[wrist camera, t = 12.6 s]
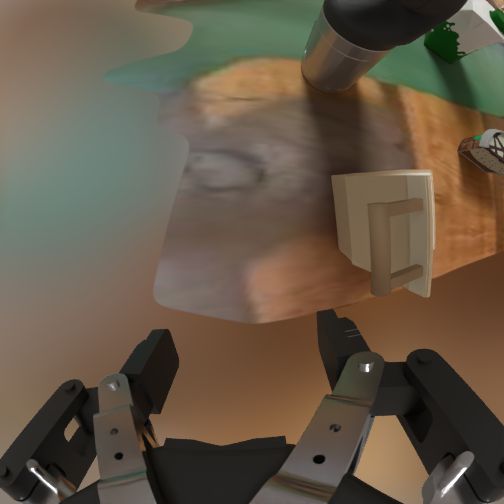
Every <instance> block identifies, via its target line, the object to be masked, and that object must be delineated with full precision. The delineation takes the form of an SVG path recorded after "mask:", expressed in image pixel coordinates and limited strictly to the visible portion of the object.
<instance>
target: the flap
mask: <svg viewBox="0 0 504 504" xmlns="http://www.w3.org/2000/svg"><path fill="white" fill-rule="evenodd" d="M345 185H346V194H347V203H348V213H349V224H350V237H351V252H352V264H353V265H355V266H357V267H360V268H362V269H364V270H366V271H369V272H371V293H372V294H373V295H375V296H386V295H388V294H390V292H391V290H392V289H394V288H397V287H399V286H402V287H405V288H407V289H409V290H410V291H412V292H414V293H416V294H419V295H421V296H423V297H429V296H430V289H431V276H432V259H433V208H432V190H431V178H430V175H377V176H348V177H345Z"/></svg>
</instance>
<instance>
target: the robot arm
mask: <svg viewBox="0 0 504 504" xmlns="http://www.w3.org/2000/svg"><path fill="white" fill-rule="evenodd" d="M467 1H468V0H325V1H324V4H323V6H322V9H321V11H320V14H319V17H318V19H317V20H316V21H315V23H314V26H313V28H312V31H311V34H310V36H309V39H308V42H307V44H306V47H305V49H306V50H305V53H304V56H303V58H302V62H301V68H302V73H303V75H304V77H305V78H306V80H307V81H308V82H309V83H310V84H311V85H312V86H314V87H315V88H317V89H318V90H321V91H323V92H327V93H341V92H344V91H346V90H348V89H349V88H350V87H351V86H352V85H354V84H355V83H356V82H357V81H358V80H359V79H360V78H361V77H362V76H363V75H364V74H366V73H367V72H368V71H369V70H370V69H371V68H372V67H373V66H374V65H375V64H377V63H378V62H379V61H380V60H381V59H382V58H383V57H384V56H386V55H387V54H388V53H389V52H390V51H391V50H392V49H393V48H394V47H396V46H400V45H406V44H409V43H411V42H413V41H414V40H416V39H417V38H419V37H420V36H422V35H424V34H425V33H427V32H428V31H430V30H432V29H433V28H435V27H437V26H438V25H440V24H442V23H443V22H445V21H446V20H448V19H450V18H451V17H452V16H453V15H455V14H456V13H457V12H458V11H459V10H460V9H461V8H462V7H463V6H464V5H465V4H466V2H467ZM317 331H318V345H319V351H320V355H321V358H322V361H323V364H324V367H325V370H326V374H327V377H328V380H329V383H330V387H331V390H332V395H325V397H324V398H323V400H322V402H321V403H320V405H319V407H318V409H317V411H316V412H315V415H314V416H313V418H312V420H311V421H310V423H309V425H308V427H307V428H306V430H305V431H304V433H303V435H302V436H301V438H300V440H299V442H298V443H297V444H296V445H294V444H286V438H285V436H279V437H269V438H256V439H251V440H247V441H243V442H239V443H234V444H230V445H225V446H219V445H214V444H209V443H205V442H201V441H197V440H190V439H189V440H188V439H172V438H166V440H165V443H164V446H159V443H158V440H157V438H156V435H155V432H154V429H153V426H152V423H151V421H150V419H149V415H150V414H160V413H161V411H162V408H163V405H164V403H165V400H166V398H167V395H168V393H169V390H170V388H171V385H172V382H173V380H174V377H175V375H176V372H177V370H178V367H179V357H178V354H177V351H176V348H175V345H174V342H173V339H172V336H171V333H170V331H169V330H168V329H156V330H152V331H151V333H150V334H149V336H148V337H147V339H146V340H143V341H142V342H141V343H140V344H138V345H137V346H136V348H135V349H134V351H133V353H132V354H131V355H130V357H129V359H128V360H127V361H126V363H125V364H124V366H123V367H122V369H121V370H120V372H119V373H115V374H111V375H108V376H106V377H104V378H103V379H102V380H101V381H100V383H99V384H98V387H94V388H87V389H86V388H85V386H84V385H83V383H82V382H81V381H80V380H76V379H74V380H69V381H67V382H65V383H63V384H62V385H61V386H60V387H59V388H58V389H57V390H56V392H55V393H54V394H53V395H52V396H51V397H50V399H49V400H48V401H47V402H46V403H45V404H44V406H43V407H42V408H41V409H40V410H39V411H38V413H37V414H36V415H35V416H34V418H33V419H32V420H31V421H30V422H29V424H28V425H27V426H26V427H25V428H24V430H23V431H22V432H21V433H20V435H19V436H18V437H17V438H16V440H15V441H14V442H13V443H12V445H11V446H10V447H9V449H8V450H7V451H6V453H5V454H4V455H3V456H2V458H1V459H0V488H1V489H2V490H3V491H5V492H6V493H7V494H8V495H9V496H10V497H11V498H12V499H13V500H14V501H16V502H17V503H18V504H403V503H401V502H399V501H397V500H395V499H393V498H392V497H390V496H388V495H386V494H384V493H382V492H380V491H379V490H377V489H375V488H373V487H372V486H370V485H368V484H367V483H365V482H363V481H361V480H360V479H358V478H357V477H355V476H354V473H355V471H356V469H357V466H358V464H359V461H360V458H361V455H362V452H363V449H364V447H365V444H366V441H367V438H368V435H369V433H370V430H371V427H372V424H373V421H374V418H375V416H385V415H386V416H388V415H396V416H397V418H398V420H399V421H400V423H401V425H402V427H403V428H404V430H405V432H406V434H407V436H408V437H409V439H410V441H411V443H412V445H413V446H414V448H415V450H416V452H417V454H418V456H419V458H420V459H421V461H422V463H423V465H424V466H425V469H426V471H427V473H428V474H429V477H428V478H427V480H426V481H425V482H424V484H423V487H422V497H423V504H495V503H496V502H498V501H499V500H500V499H501V498H502V497H504V426H503V425H502V423H501V422H500V421H499V420H498V419H497V417H496V416H495V415H494V414H493V413H492V412H491V411H490V409H489V408H488V407H487V406H486V405H485V403H484V402H483V401H482V400H481V399H480V398H479V397H478V396H477V395H476V394H475V392H474V391H473V390H472V389H471V388H470V387H469V386H468V384H467V383H466V382H465V381H464V380H463V379H462V378H461V377H460V376H459V375H458V374H457V373H456V372H455V370H454V369H453V368H452V367H451V366H450V365H449V364H448V363H447V362H446V361H445V360H444V359H443V358H442V357H441V356H440V355H439V354H438V353H437V352H435V351H433V350H430V349H418V350H415V351H413V352H411V353H410V354H409V355H408V356H407V360H406V362H385V361H384V359H383V357H382V356H381V355H379V354H377V353H374V352H371V351H370V349H369V347H368V346H367V344H366V342H365V340H364V339H363V337H362V335H360V332H359V330H357V327H356V325H355V324H354V322H353V321H351V320H349V319H348V318H346V317H344V318H339V319H338V317H337V315H336V313H335V312H334V310H333V309H329V310H323V311H317ZM72 418H74V419H75V420H76V422H77V423H78V425H79V428H78V429H77V431H76V432H75V433H74V435H73V436H72V438H71V439H70V441H69V442H68V441H67V440H66V438H65V436H64V431H65V428H66V427H67V425H68V424H69V423H70V421H71V420H72ZM96 455H97V459H98V466H99V473H100V479H99V480H97V481H96V482H94V483H93V484H91V485H89V486H87V487H86V488H84V489H82V490H80V491H78V492H76V491H77V489H78V488H79V486H80V484H81V482H82V480H83V478H84V477H85V475H86V473H87V471H88V469H89V468H90V466H91V464H92V462H93V461H94V459H95V457H96Z"/></svg>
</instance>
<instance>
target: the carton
mask: <svg viewBox="0 0 504 504" xmlns="http://www.w3.org/2000/svg"><path fill="white" fill-rule="evenodd" d="M377 175H430V178H431V190H432V208H433V250H435V204H434V188H433V176H432V170H392V171H376V172H363V173H351V174H340V175H331V180H332V187H333V196H334V204H335V214H336V224H337V235H338V247H339V250H340V251H341V252H342V253H343V254H344V255H345V256H346V257H347V258H348V259H349V260H351V261H352V252H351V237H350V224H349V213H348V203H347V194H346V185H345V177H348V176H377Z"/></svg>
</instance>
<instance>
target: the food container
mask: <svg viewBox="0 0 504 504" xmlns="http://www.w3.org/2000/svg"><path fill="white" fill-rule="evenodd" d="M458 152H459V153H460V154H462V155H463V156H465V157H466V158H467V159H469V160H470V161H471V162H473V163H474V164H475V165H476V166H478V167H479V168H480V169H481V170H483V171H484V172H485V173H493V174H500V175H504V132H502V131H500V130H496V129H489V130H487V131H485V133H484V134H483V135H478V136H474V137H470V138H466V139H464V140H463V141H462V142H461V143H460V145H459V148H458Z"/></svg>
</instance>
